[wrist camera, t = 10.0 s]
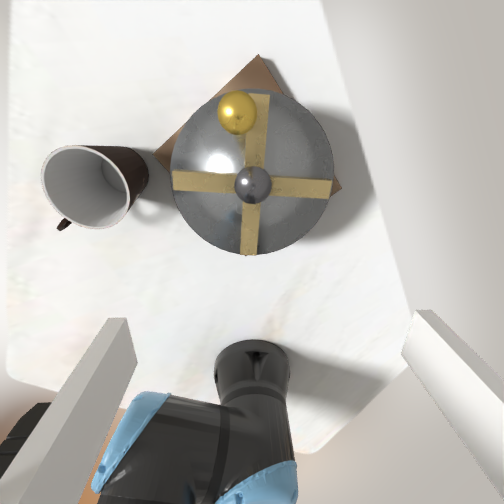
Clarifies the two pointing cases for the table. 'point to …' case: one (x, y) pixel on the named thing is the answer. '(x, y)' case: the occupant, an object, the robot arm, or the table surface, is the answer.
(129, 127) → the table surface
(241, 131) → the handwheel
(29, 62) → the table surface
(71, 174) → the coffee mug
